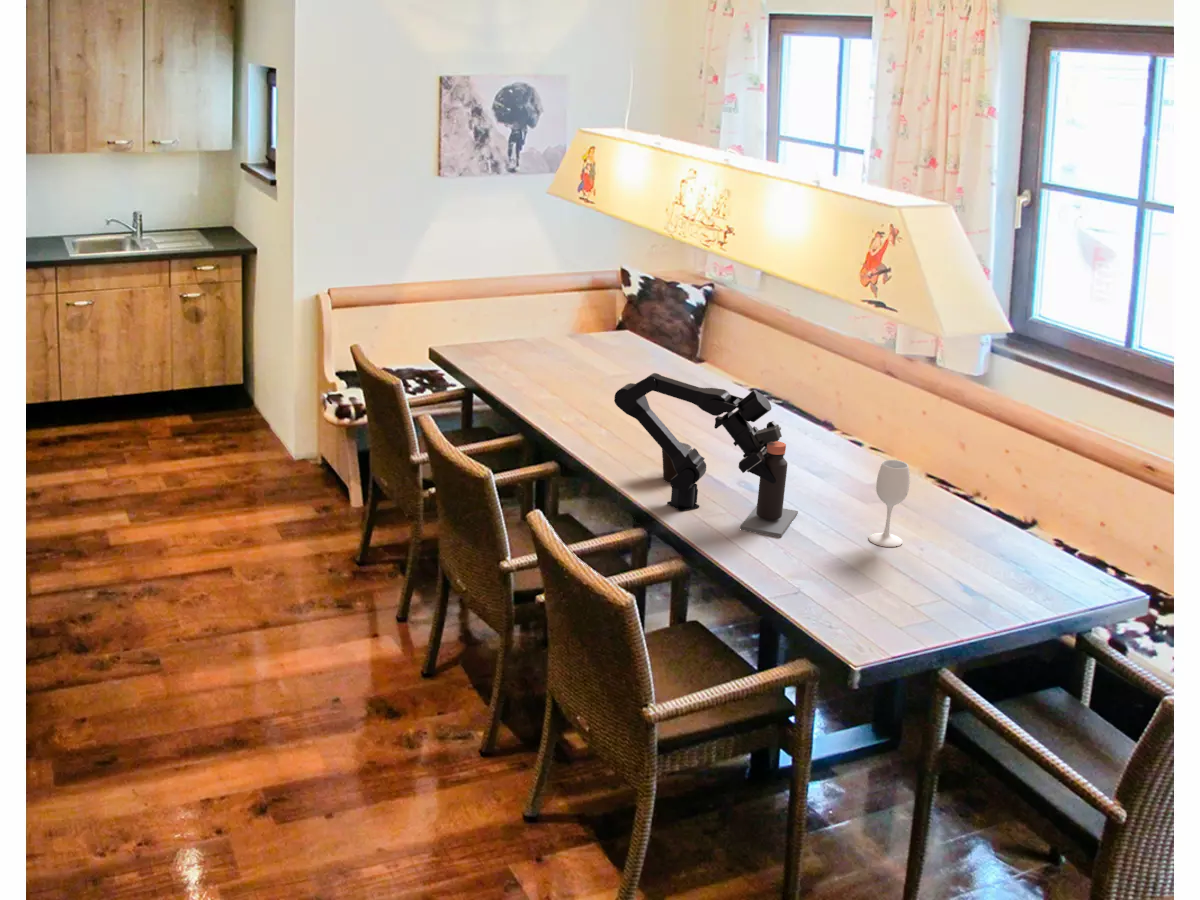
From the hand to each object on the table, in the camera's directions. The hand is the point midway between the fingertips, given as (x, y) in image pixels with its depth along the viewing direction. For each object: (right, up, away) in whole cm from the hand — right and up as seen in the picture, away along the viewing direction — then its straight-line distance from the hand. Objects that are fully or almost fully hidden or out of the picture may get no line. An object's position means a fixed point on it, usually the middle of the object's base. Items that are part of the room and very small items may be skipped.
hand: (778, 478), depth 339 cm
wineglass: (+27, -16, -4) cm, 32 cm away
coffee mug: (-24, -1, +33) cm, 41 cm away
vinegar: (-2, -10, +4) cm, 11 cm away
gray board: (-2, -12, +4) cm, 12 cm away
